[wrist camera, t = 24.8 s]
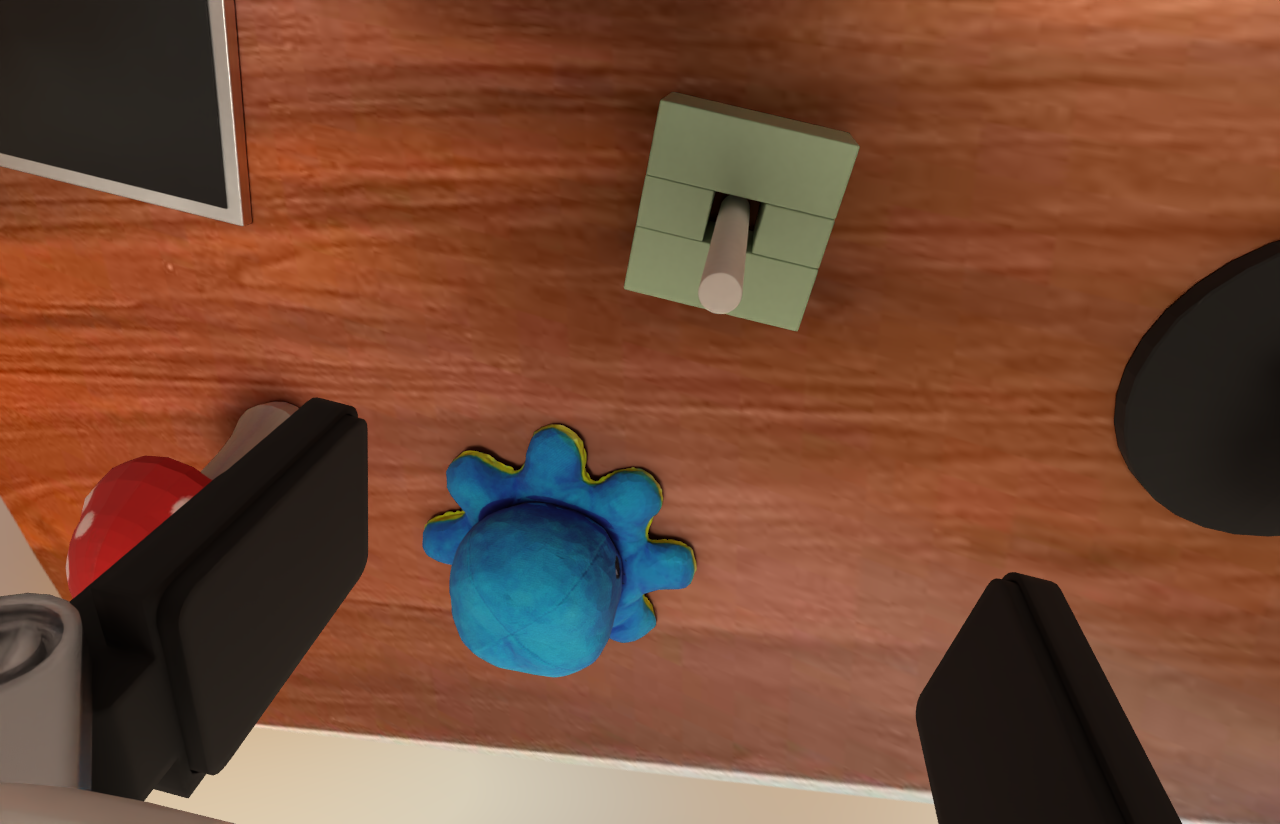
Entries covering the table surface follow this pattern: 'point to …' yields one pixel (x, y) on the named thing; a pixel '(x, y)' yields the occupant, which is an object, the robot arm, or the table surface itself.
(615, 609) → the plush toy
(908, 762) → the table surface
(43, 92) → the tablet
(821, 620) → the table surface
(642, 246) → the pen stand
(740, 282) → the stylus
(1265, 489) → the microphone
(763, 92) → the table surface
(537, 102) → the table surface
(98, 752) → the robot arm
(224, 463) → the decorative mushroom
